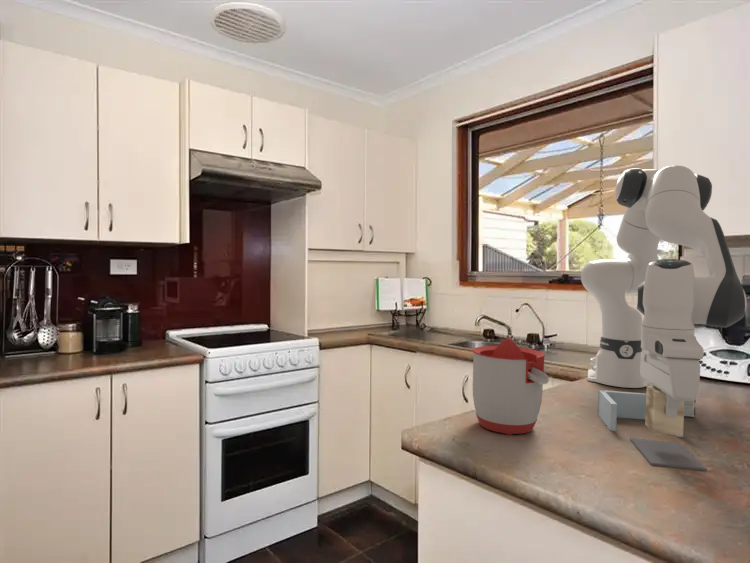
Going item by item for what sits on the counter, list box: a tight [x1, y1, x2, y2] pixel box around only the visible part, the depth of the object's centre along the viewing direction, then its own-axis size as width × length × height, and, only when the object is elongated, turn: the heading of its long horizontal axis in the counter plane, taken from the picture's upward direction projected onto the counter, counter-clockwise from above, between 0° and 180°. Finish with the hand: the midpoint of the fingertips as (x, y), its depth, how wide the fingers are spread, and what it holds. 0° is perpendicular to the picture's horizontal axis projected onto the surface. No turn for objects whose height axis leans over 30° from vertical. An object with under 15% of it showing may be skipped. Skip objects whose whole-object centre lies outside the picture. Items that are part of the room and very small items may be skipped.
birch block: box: [644, 386, 684, 437], centre depth 93 cm, size 5×5×8 cm
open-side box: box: [597, 389, 685, 438], centre depth 109 cm, size 12×14×6 cm
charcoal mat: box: [629, 437, 707, 472], centre depth 92 cm, size 13×9×1 cm
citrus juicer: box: [472, 337, 549, 436], centre depth 105 cm, size 16×17×20 cm
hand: (664, 411), depth 93 cm, fingers closed on birch block, 5 cm apart
